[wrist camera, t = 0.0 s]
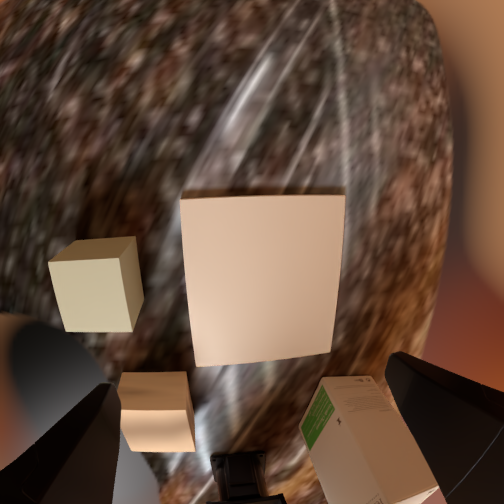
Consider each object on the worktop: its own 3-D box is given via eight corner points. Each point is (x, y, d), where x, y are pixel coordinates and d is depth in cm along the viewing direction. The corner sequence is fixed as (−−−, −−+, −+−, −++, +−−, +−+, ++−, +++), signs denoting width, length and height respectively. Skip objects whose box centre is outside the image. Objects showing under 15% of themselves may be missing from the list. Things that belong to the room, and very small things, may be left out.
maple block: (194, 413, 27) (195, 451, 23) (137, 414, 27) (131, 451, 22) (186, 370, 26) (185, 409, 21) (122, 371, 25) (112, 409, 20)
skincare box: (321, 374, 28) (390, 503, 13) (374, 373, 29) (450, 478, 15) (296, 428, 30) (339, 543, 16) (345, 424, 32) (397, 524, 17)
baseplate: (327, 348, 27) (330, 352, 26) (196, 362, 25) (196, 366, 25) (342, 194, 23) (345, 195, 22) (180, 198, 21) (179, 199, 20)
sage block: (144, 297, 23) (132, 331, 18) (87, 299, 22) (66, 331, 17) (135, 235, 21) (118, 258, 17) (75, 240, 21) (48, 262, 16)
